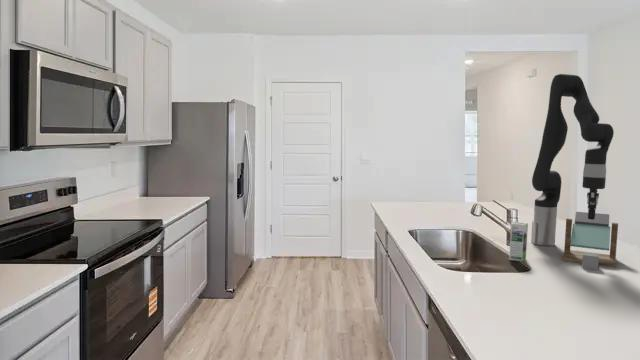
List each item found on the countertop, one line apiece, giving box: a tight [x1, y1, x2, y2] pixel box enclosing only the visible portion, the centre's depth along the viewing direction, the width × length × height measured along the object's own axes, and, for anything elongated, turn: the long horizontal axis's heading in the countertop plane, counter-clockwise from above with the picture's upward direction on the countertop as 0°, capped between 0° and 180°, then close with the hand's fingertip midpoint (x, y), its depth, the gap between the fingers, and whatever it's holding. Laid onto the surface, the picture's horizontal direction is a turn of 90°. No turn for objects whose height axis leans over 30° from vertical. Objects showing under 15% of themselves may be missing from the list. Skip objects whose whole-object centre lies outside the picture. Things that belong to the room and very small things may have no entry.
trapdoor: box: [570, 211, 611, 252], centre depth 189 cm, size 20×13×4 cm
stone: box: [581, 251, 599, 271], centre depth 174 cm, size 5×5×5 cm
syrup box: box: [508, 221, 529, 262], centre depth 184 cm, size 6×6×14 cm
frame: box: [561, 218, 619, 269], centre depth 187 cm, size 19×18×14 cm
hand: (591, 217), depth 182 cm, fingers open, 8 cm apart
